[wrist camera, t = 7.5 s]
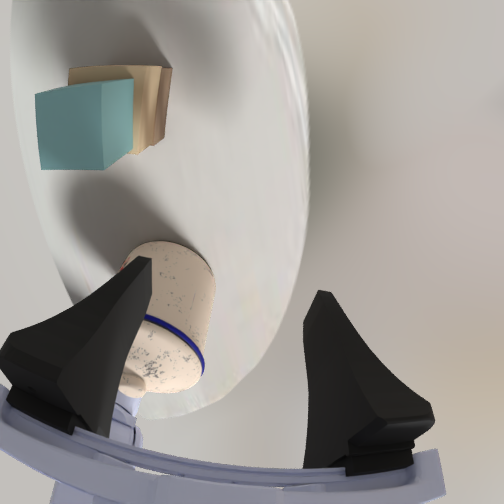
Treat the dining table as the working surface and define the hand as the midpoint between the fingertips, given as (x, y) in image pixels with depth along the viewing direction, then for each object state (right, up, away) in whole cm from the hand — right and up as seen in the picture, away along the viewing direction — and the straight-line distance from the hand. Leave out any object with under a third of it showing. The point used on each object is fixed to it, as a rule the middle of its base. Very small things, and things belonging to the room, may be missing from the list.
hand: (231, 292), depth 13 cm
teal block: (-7, +9, +1) cm, 12 cm away
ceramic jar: (-7, -2, +15) cm, 16 cm away
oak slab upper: (-7, +11, +3) cm, 14 cm away
